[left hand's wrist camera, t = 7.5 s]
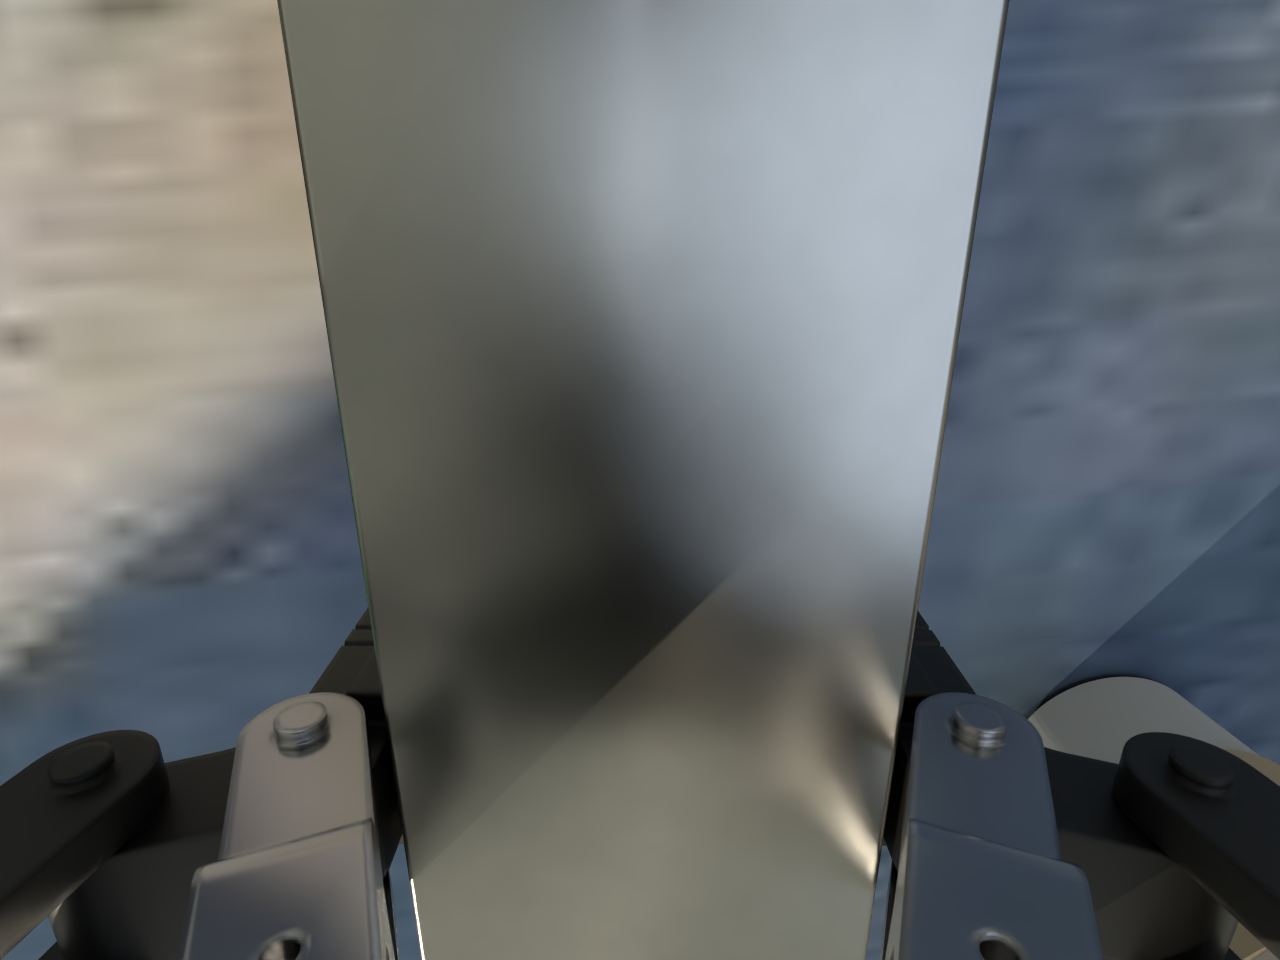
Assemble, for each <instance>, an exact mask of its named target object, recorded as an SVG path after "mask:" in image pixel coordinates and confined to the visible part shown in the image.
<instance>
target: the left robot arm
mask: <svg viewBox="0 0 1280 960" xmlns="http://www.w3.org/2000/svg"><path fill="white" fill-rule="evenodd" d="M398 844H404V840H403V833H402V827H401V820H400V813H399V807H398V800H397V793H396V787H395V780H394V773H393V767H392V760H391V753H390V747H389V740H388V733H387V727H386V720H385V713H384V707H383V700H382V693H381V687H380V680H379V674H378V667H377V660H376V654H375V647H374V640H373V634H372V627H371V620H370V614H369V607H368V608H367V610H366V611H365V613H364V614H363V616H362V617H361V619H360V620H359V621H358V623H357V624H356V629H353V630H352V632H351V633H350V635H349V636H348V638H347V639H346V640H345V645H344V646H341V648H340V649H339V651H338V652H337V654H336V655H335V656H334V658H333V659H332V661H331V662H330V664H329V665H328V667H327V668H326V670H325V671H324V673H323V674H322V675H321V677H320V678H319V680H318V681H317V683H316V684H315V686H314V687H313V689H312V690H311V691H310V693H309V694H306V695H301V696H297V697H294V698H291V699H288V700H285V701H282V702H280V703H278V704H276V705H274V706H272V707H270V708H268V709H266V710H265V711H263V712H262V713H260V714H259V715H257V716H256V717H255V718H254V719H253V720H251V721H250V722H249V723H248V724H247V725H246V727H245V728H244V729H243V730H242V732H241V734H240V735H239V737H238V741H237V744H236V747H235V748H232V749H228V750H224V751H220V752H215V753H211V754H206V755H201V756H196V757H192V758H187V759H182V760H178V761H173V762H168V763H164V760H163V757H162V753H161V750H160V746H159V744H158V741H157V740H156V739H155V738H154V737H153V736H152V735H150V734H148V733H146V732H142V731H137V730H116V731H109V732H103V733H99V734H94V735H91V736H88V737H84V738H81V739H78V740H76V741H73V742H70V743H68V744H66V745H64V746H61V747H59V748H57V749H55V750H53V751H51V752H50V753H48V754H46V755H44V756H42V757H41V758H39V759H38V760H36V761H35V762H33V763H32V764H30V765H29V766H28V767H26V768H25V769H24V770H22V771H21V772H19V773H18V774H17V775H15V776H14V777H12V778H11V779H10V780H8V781H7V782H5V783H4V784H3V785H1V786H0V960H1V959H2V958H3V957H4V956H5V955H6V954H8V953H9V952H10V951H11V950H12V949H13V948H14V947H15V946H16V945H17V944H18V943H19V942H20V941H21V940H22V939H23V938H25V937H26V936H27V935H28V934H29V933H30V932H31V931H32V930H33V929H34V928H35V927H36V926H37V925H38V924H39V923H41V922H42V921H43V920H44V919H45V918H46V917H47V916H48V919H49V921H50V924H51V926H52V929H53V932H54V934H55V937H56V940H57V942H56V943H55V944H54V945H53V946H52V947H51V948H50V949H49V950H48V951H47V952H46V953H45V954H44V955H43V956H42V957H41V958H40V959H38V960H400V959H399V950H398V940H397V931H396V921H395V911H394V902H393V892H392V884H391V877H390V871H389V868H390V865H391V863H392V860H393V857H394V855H395V852H396V849H397V847H398ZM882 845H887V847H888V850H889V853H890V855H891V858H892V864H891V871H890V877H889V883H888V892H887V901H886V911H885V921H884V930H883V940H882V949H881V959H880V960H1242V959H1241V958H1239V957H1238V956H1237V955H1236V954H1235V953H1234V952H1233V951H1232V950H1231V949H1230V948H1229V946H1230V943H1231V940H1232V938H1233V935H1234V933H1235V930H1236V928H1237V925H1238V922H1239V923H1241V924H1242V925H1243V926H1244V927H1245V928H1246V929H1247V930H1248V931H1249V932H1250V933H1251V934H1252V935H1253V936H1254V937H1255V938H1257V939H1258V940H1259V941H1260V942H1261V943H1262V944H1263V945H1264V946H1265V947H1266V948H1267V949H1268V950H1269V951H1270V952H1271V953H1273V954H1274V955H1275V956H1276V957H1277V958H1278V959H1279V960H1280V786H1279V785H1277V784H1276V783H1275V782H1273V781H1272V780H1270V779H1269V778H1268V777H1266V776H1265V775H1263V774H1262V773H1261V772H1259V771H1258V770H1256V769H1255V768H1254V767H1252V766H1251V765H1249V764H1248V763H1246V762H1245V761H1243V760H1242V759H1240V758H1238V757H1237V756H1235V755H1233V754H1231V753H1229V752H1228V751H1225V750H1223V749H1221V748H1219V747H1217V746H1215V745H1212V744H1209V743H1207V742H1204V741H1201V740H1198V739H1195V738H1192V737H1188V736H1183V735H1179V734H1173V733H1166V732H1148V733H1142V734H1138V735H1135V736H1133V737H1131V738H1130V739H1129V740H1128V741H1127V742H1126V743H1125V745H1124V747H1123V751H1122V754H1121V758H1120V762H1119V764H1116V763H1111V762H1107V761H1102V760H1097V759H1093V758H1088V757H1083V756H1078V755H1074V754H1069V753H1064V752H1061V751H1057V750H1053V749H1050V748H1047V747H1044V744H1043V741H1042V737H1041V736H1040V734H1039V732H1038V730H1037V729H1036V728H1035V727H1034V726H1033V724H1032V723H1031V722H1030V721H1028V720H1027V719H1026V718H1025V717H1024V716H1022V715H1021V714H1020V713H1018V712H1017V711H1015V710H1013V709H1012V708H1010V707H1008V706H1006V705H1004V704H1002V703H1000V702H998V701H995V700H992V699H989V698H986V697H983V696H979V695H976V694H975V692H974V691H973V689H972V688H971V686H970V685H969V684H968V682H967V681H966V679H965V678H964V676H963V675H962V673H961V672H960V671H959V669H958V668H957V666H956V665H955V663H954V662H953V661H952V659H951V658H950V656H949V655H948V653H947V652H946V651H945V649H944V648H943V647H940V642H939V640H938V639H937V638H936V636H935V635H934V633H933V632H932V630H929V626H928V625H927V623H926V622H925V620H924V619H923V617H922V616H921V615H920V613H919V612H918V610H917V617H916V623H915V630H914V637H913V643H912V650H911V656H910V663H909V670H908V676H907V683H906V690H905V696H904V703H903V710H902V716H901V723H900V729H899V736H898V743H897V749H896V756H895V763H894V769H893V776H892V783H891V789H890V796H889V803H888V809H887V816H886V822H885V829H884V836H883V842H882Z"/></svg>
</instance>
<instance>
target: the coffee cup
mask: <svg viewBox="0 0 1280 960" xmlns="http://www.w3.org/2000/svg"><path fill="white" fill-rule="evenodd" d="M1028 721H1030V722H1031V723H1032V724H1033V726H1034V727H1035V728H1036V729H1037V730H1038V732H1039V734H1040V736H1041V737H1042V741H1043V744H1044V747H1047V748H1050V749H1053V750H1057V751H1061V752H1064V753H1069V754H1074V755H1078V756H1083V757H1088V758H1093V759H1097V760H1102V761H1107V762H1111V763H1116V764H1119V762H1120V758H1121V754H1122V751H1123V747H1124V745H1125V743H1126V742H1127V741H1128V740H1129V739H1130V738H1131V737H1133V736H1135V735H1138V734H1142V733H1148V732H1166V733H1173V734H1179V735H1183V736H1188V737H1192V738H1195V739H1198V740H1201V741H1204V742H1207V743H1209V744H1212V745H1215V746H1217V747H1219V748H1221V749H1223V750H1225V751H1228V752H1229V753H1231V754H1233V755H1235V756H1237V757H1238V758H1240V759H1242V760H1243V761H1245V762H1246V763H1248V764H1249V765H1251V766H1252V767H1254V768H1255V769H1256V770H1258V771H1259V772H1261V773H1262V774H1263V775H1265V776H1266V777H1268V778H1269V779H1270V780H1272V781H1273V782H1275V783H1276V784H1277V785H1279V786H1280V765H1279V764H1277V763H1275V762H1274V761H1272V760H1269V759H1267V758H1265V757H1262V756H1260V755H1258V754H1256V753H1255V752H1254V751H1252V750H1251V749H1250V748H1248V747H1247V746H1246V745H1244V744H1243V743H1242V742H1241V741H1239V740H1238V739H1237V738H1235V737H1234V736H1233V735H1231V734H1230V733H1229V732H1227V731H1226V730H1225V729H1224V728H1222V727H1221V726H1220V725H1218V724H1217V723H1216V722H1214V721H1213V720H1212V719H1210V718H1209V717H1208V716H1206V715H1205V714H1204V713H1203V712H1201V711H1200V710H1199V709H1197V708H1196V707H1195V706H1193V705H1192V704H1191V703H1189V702H1188V701H1187V700H1186V699H1184V698H1183V697H1182V696H1180V695H1179V694H1178V693H1176V692H1175V691H1174V690H1172V689H1171V688H1169V687H1167V686H1165V685H1163V684H1161V683H1158V682H1155V681H1152V680H1148V679H1143V678H1137V677H1111V678H1104V679H1099V680H1094V681H1090V682H1087V683H1084V684H1081V685H1078V686H1076V687H1073V688H1071V689H1069V690H1066V691H1065V692H1063V693H1061V694H1059V695H1057V696H1056V697H1054V698H1052V699H1051V700H1049V701H1048V702H1046V703H1045V704H1044V705H1043V706H1041V707H1040V708H1039V709H1038V710H1037V711H1035V712H1034V713H1033V714H1032V715H1031V716H1030V717H1029V719H1028ZM1229 948H1230V949H1231V950H1232V951H1233V952H1234V953H1235V954H1236V955H1237V956H1238V957H1239V958H1241V959H1242V960H1279V959H1278V958H1277V957H1276V956H1275V955H1274V954H1273V953H1271V952H1270V951H1269V950H1268V949H1267V948H1266V947H1265V946H1264V945H1263V944H1262V943H1261V942H1260V941H1259V940H1258V939H1257V938H1255V937H1254V936H1253V935H1252V934H1251V933H1250V932H1249V931H1248V930H1247V929H1246V928H1245V927H1244V926H1243V925H1242V924H1241V923H1239V922H1238V925H1237V928H1236V930H1235V933H1234V935H1233V938H1232V940H1231V943H1230V946H1229Z"/></svg>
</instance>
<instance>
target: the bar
mask: <svg viewBox="0 0 1280 960" xmlns="http://www.w3.org/2000/svg"><path fill="white" fill-rule="evenodd" d="M277 1H278V8H279V15H280V21H281V28H282V35H283V41H284V48H285V55H286V61H287V68H288V75H289V81H290V88H291V95H292V101H293V108H294V115H295V121H296V128H297V135H298V141H299V148H300V155H301V161H302V168H303V175H304V181H305V188H306V194H307V201H308V208H309V214H310V221H311V228H312V234H313V241H314V248H315V254H316V261H317V268H318V274H319V281H320V288H321V294H322V301H323V308H324V314H325V321H326V328H327V334H328V341H329V347H330V354H331V361H332V367H333V374H334V381H335V387H336V394H337V401H338V407H339V414H340V421H341V427H342V434H343V441H344V447H345V454H346V461H347V467H348V474H349V481H350V487H351V494H352V501H353V507H354V514H355V520H356V527H357V534H358V540H359V547H360V554H361V560H362V567H363V574H364V580H365V587H366V594H367V600H368V607H369V614H370V620H371V627H372V634H373V640H374V647H375V654H376V660H377V667H378V674H379V680H380V687H381V693H382V700H383V707H384V713H385V720H386V727H387V733H388V740H389V747H390V753H391V760H392V767H393V773H394V780H395V787H396V793H397V800H398V807H399V813H400V820H401V827H402V833H403V840H404V847H405V853H406V860H407V866H408V873H409V880H410V886H411V893H412V900H413V906H414V913H415V920H416V926H417V933H418V940H419V946H420V953H421V960H865V955H866V949H867V942H868V935H869V929H870V922H871V915H872V909H873V902H874V896H875V889H876V882H877V876H878V869H879V862H880V856H881V849H882V842H883V836H884V829H885V822H886V816H887V809H888V803H889V796H890V789H891V783H892V776H893V769H894V763H895V756H896V749H897V743H898V736H899V729H900V723H901V716H902V710H903V703H904V696H905V690H906V683H907V676H908V670H909V663H910V656H911V650H912V643H913V637H914V630H915V623H916V617H917V610H918V603H919V597H920V590H921V583H922V577H923V570H924V563H925V557H926V550H927V544H928V537H929V530H930V524H931V517H932V510H933V504H934V497H935V490H936V484H937V477H938V470H939V464H940V457H941V451H942V444H943V437H944V431H945V424H946V417H947V411H948V404H949V397H950V391H951V384H952V377H953V371H954V364H955V358H956V351H957V344H958V338H959V331H960V324H961V318H962V311H963V304H964V298H965V291H966V284H967V278H968V271H969V265H970V258H971V251H972V245H973V238H974V231H975V225H976V218H977V211H978V205H979V198H980V191H981V185H982V178H983V172H984V165H985V158H986V152H987V145H988V138H989V132H990V125H991V118H992V112H993V105H994V99H995V92H996V85H997V79H998V72H999V65H1000V59H1001V52H1002V45H1003V39H1004V32H1005V25H1006V19H1007V12H1008V6H1009V0H277Z"/></svg>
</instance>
